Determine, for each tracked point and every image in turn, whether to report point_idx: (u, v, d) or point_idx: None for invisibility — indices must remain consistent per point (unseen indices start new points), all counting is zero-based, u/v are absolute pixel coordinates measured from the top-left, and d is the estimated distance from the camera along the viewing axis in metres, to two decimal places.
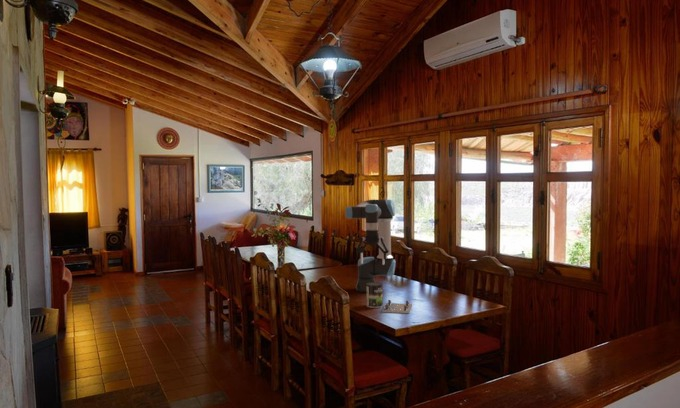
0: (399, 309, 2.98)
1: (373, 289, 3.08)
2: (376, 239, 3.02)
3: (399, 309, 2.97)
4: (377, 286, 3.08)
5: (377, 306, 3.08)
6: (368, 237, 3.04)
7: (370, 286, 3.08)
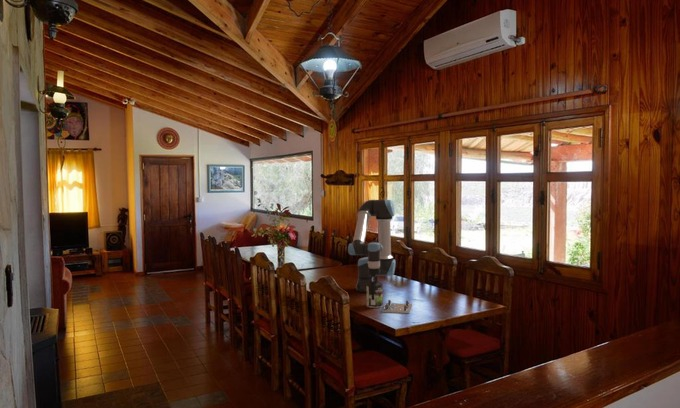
0: (399, 309, 2.98)
1: None
2: (371, 277, 3.10)
3: (399, 309, 2.97)
4: (377, 286, 3.08)
5: (377, 306, 3.09)
6: None
7: None
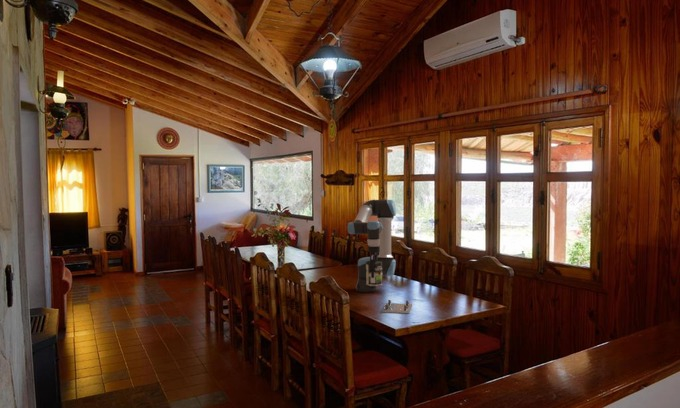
0: (399, 309, 2.98)
1: None
2: (371, 255, 3.09)
3: (399, 309, 2.97)
4: (377, 264, 3.07)
5: (377, 284, 3.08)
6: None
7: None
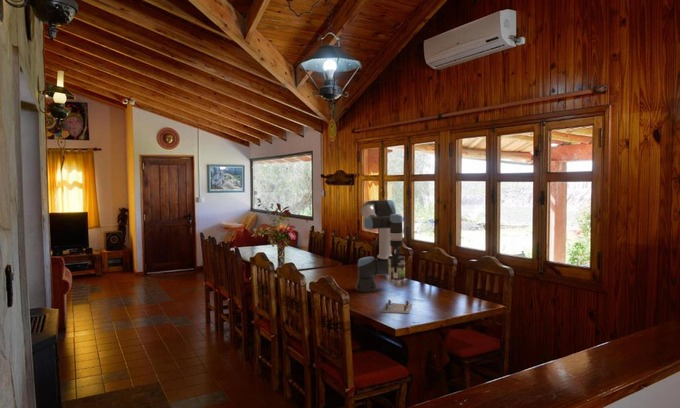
0: (399, 309, 2.98)
1: None
2: (394, 250, 2.99)
3: (399, 309, 2.97)
4: (400, 258, 2.98)
5: (400, 279, 2.98)
6: None
7: None
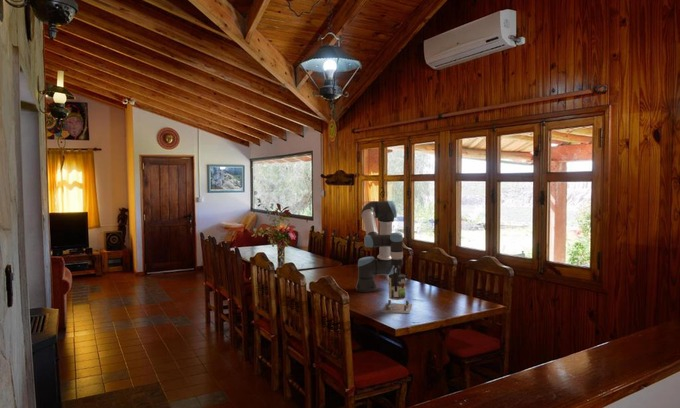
0: (399, 309, 2.98)
1: None
2: (394, 268, 3.00)
3: (399, 309, 2.97)
4: (400, 277, 2.98)
5: (400, 298, 2.99)
6: None
7: None
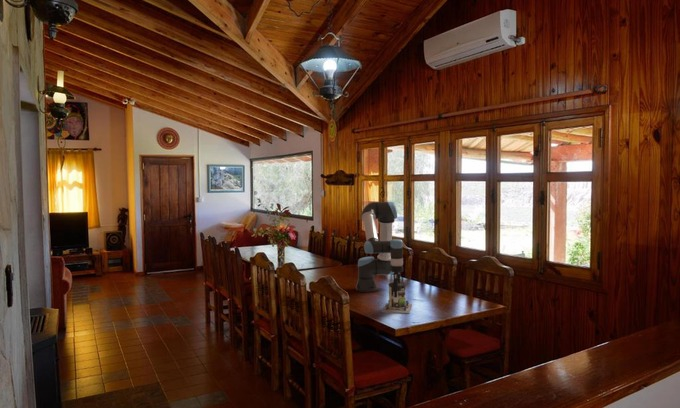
0: (399, 309, 2.98)
1: None
2: None
3: (399, 309, 2.97)
4: (400, 286, 2.98)
5: (400, 307, 2.99)
6: None
7: None
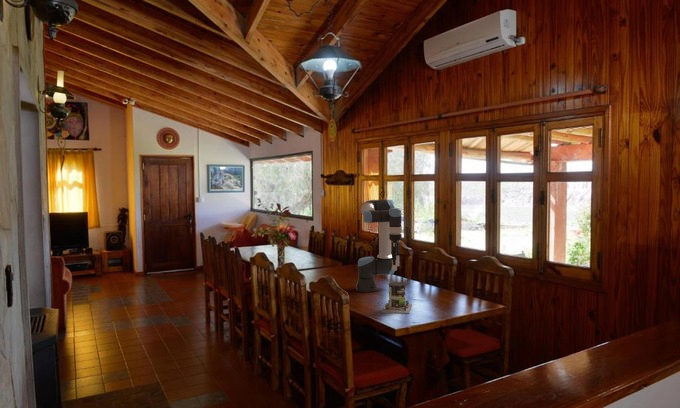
0: (399, 309, 2.98)
1: (396, 290, 2.98)
2: None
3: (399, 309, 2.97)
4: (400, 286, 2.98)
5: (400, 307, 2.99)
6: None
7: (393, 287, 2.99)
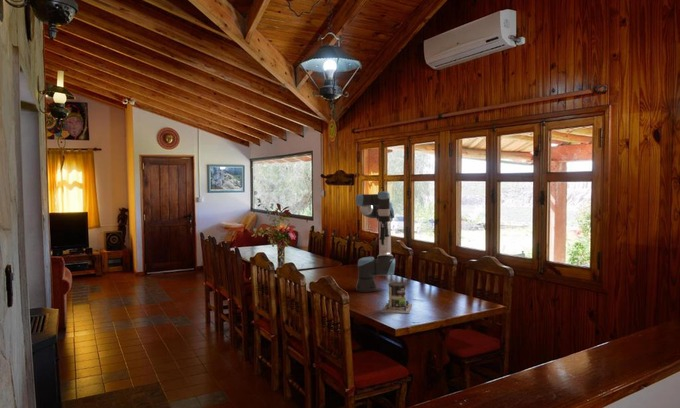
0: (399, 309, 2.98)
1: (396, 289, 2.99)
2: None
3: (399, 309, 2.97)
4: (400, 286, 2.99)
5: (400, 307, 2.99)
6: None
7: (393, 287, 2.99)
